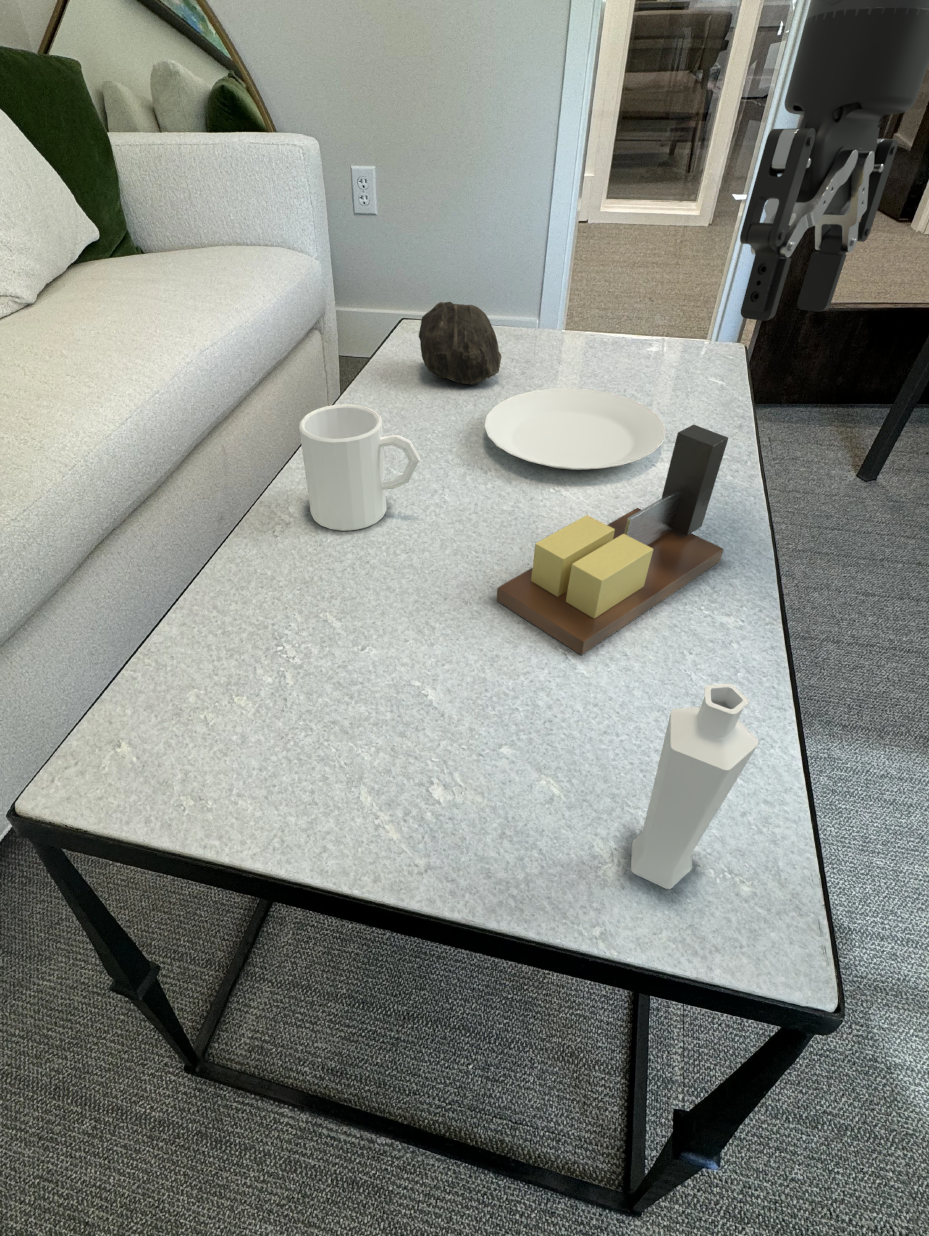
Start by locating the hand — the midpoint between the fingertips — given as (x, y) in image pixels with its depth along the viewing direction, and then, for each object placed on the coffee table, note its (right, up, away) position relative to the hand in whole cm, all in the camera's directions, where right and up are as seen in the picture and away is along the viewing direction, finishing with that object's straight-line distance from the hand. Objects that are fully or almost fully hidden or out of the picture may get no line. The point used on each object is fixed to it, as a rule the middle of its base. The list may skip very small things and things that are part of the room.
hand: (785, 314), depth 53 cm
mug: (-32, -8, +24) cm, 41 cm away
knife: (-4, -13, +16) cm, 21 cm away
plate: (-8, +3, +34) cm, 35 cm away
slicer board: (-9, -17, +15) cm, 24 cm away
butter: (-11, -18, +12) cm, 24 cm away
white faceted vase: (-11, -39, -6) cm, 41 cm away
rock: (-20, +17, +49) cm, 56 cm away
